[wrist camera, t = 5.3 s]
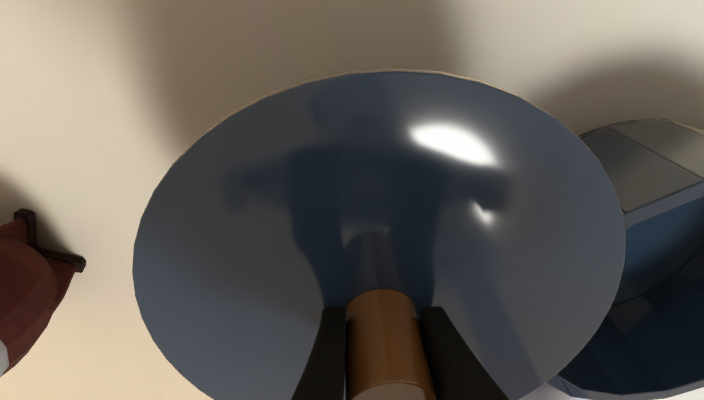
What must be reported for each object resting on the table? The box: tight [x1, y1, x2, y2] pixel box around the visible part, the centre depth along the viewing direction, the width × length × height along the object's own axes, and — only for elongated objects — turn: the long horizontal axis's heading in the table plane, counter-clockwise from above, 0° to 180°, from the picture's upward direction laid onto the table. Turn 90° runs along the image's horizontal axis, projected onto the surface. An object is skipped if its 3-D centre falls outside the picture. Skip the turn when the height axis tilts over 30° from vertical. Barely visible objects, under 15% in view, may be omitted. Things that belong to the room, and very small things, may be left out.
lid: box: [132, 67, 626, 400], centre depth 11 cm, size 16×16×4 cm
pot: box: [546, 119, 704, 400], centre depth 20 cm, size 15×15×6 cm
